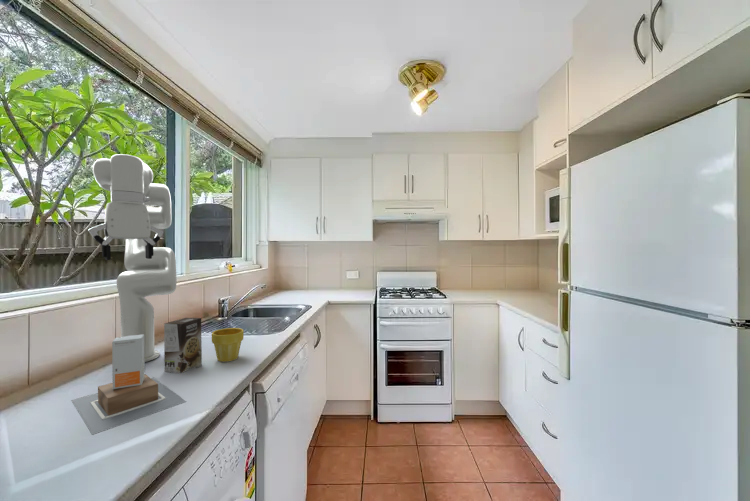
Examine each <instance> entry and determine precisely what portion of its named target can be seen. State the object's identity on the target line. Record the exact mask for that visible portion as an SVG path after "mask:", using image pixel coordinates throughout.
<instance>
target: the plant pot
mask: <svg viewBox="0 0 750 501" xmlns="http://www.w3.org/2000/svg"><path fill="white" fill-rule="evenodd" d="M244 334H245V333H244V329H243V328H240V327H227V328H226V327H225V328H220V329H216V330H213V331H212V333H211V343H212V344H213V346H214V350H215V355H216V359H217V361H218V362H221V363H224V362H225V363H227V362H231V361H235V360H237V359H238V358H239V355H240V349H241V344H242V341H244Z"/></svg>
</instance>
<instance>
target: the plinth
mask: <svg viewBox="0 0 750 501" xmlns="http://www.w3.org/2000/svg"><path fill="white" fill-rule="evenodd" d="M144 375H145V377H144V381H143V383H142V385H138V386H131V387H125V388H118V389H113V387H112V386H113V383H112V382H110V383H105V384H103V385H99V386H97V393H98V403H99V404H100V406H101V407H102V408H103V409H104V411H105V412H106V413H107V415H108V416H109V415H112V414H115V413H118V412H121V411H124V410H127V409H130V408H133V407H136V406H139V405H142V404H146V403H149V402H152V401H155V400H158V383H156V382H155V381H154V380H152V379H151V378H152V377H150V376H149V375H147V374H146V373H144Z"/></svg>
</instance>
